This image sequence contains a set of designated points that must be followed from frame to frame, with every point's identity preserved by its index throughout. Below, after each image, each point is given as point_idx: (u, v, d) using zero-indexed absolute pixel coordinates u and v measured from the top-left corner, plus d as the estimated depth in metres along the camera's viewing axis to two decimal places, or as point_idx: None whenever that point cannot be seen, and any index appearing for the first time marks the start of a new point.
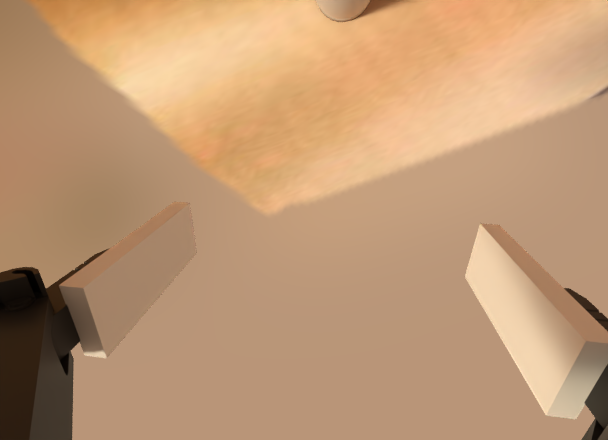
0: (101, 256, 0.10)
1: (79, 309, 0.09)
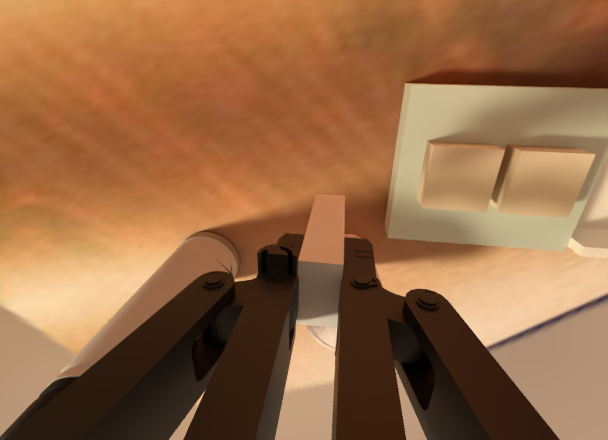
0: (306, 238, 0.12)
1: (309, 282, 0.11)
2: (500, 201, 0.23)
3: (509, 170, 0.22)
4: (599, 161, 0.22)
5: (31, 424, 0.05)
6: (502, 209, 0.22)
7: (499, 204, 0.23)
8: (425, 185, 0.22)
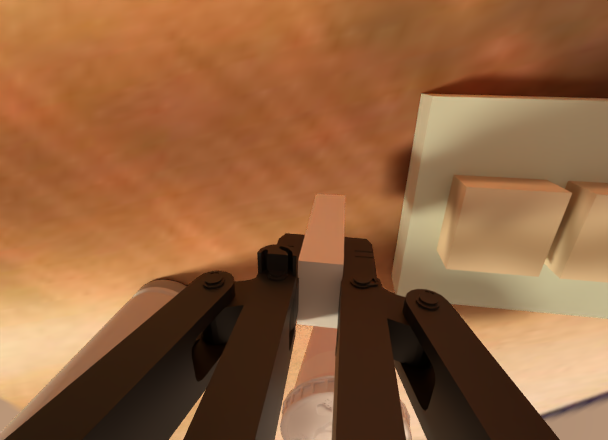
0: (306, 238, 0.12)
1: (309, 282, 0.11)
2: (558, 260, 0.16)
3: (573, 219, 0.15)
4: None
5: (31, 424, 0.05)
6: (562, 272, 0.16)
7: (556, 264, 0.16)
8: (451, 238, 0.16)
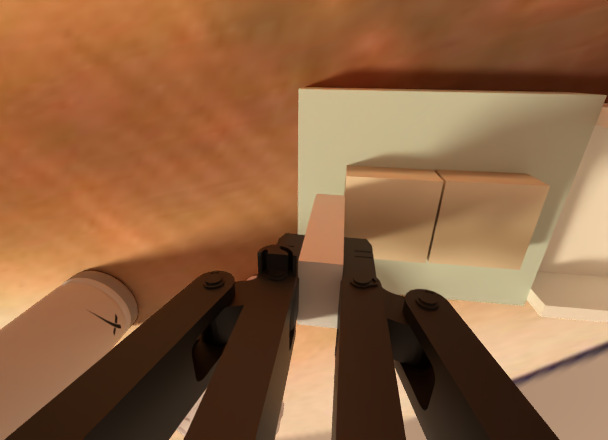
0: (306, 238, 0.12)
1: (309, 282, 0.11)
2: None
3: None
4: (561, 192, 0.16)
5: (31, 424, 0.06)
6: (429, 257, 0.16)
7: None
8: None
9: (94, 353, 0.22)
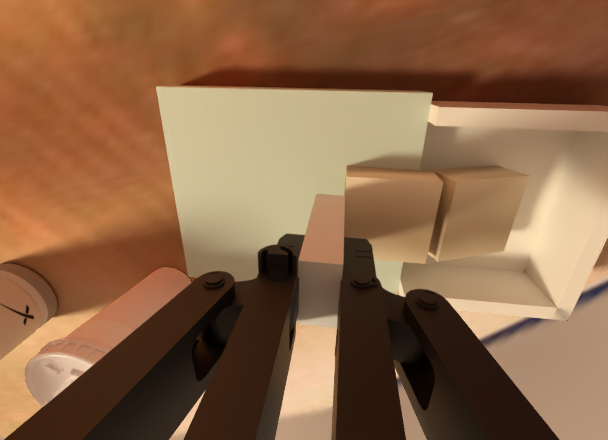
0: (306, 238, 0.12)
1: (309, 282, 0.11)
2: (433, 245, 0.17)
3: (441, 205, 0.16)
4: None
5: (31, 423, 0.05)
6: (438, 256, 0.17)
7: (432, 249, 0.17)
8: None
9: None
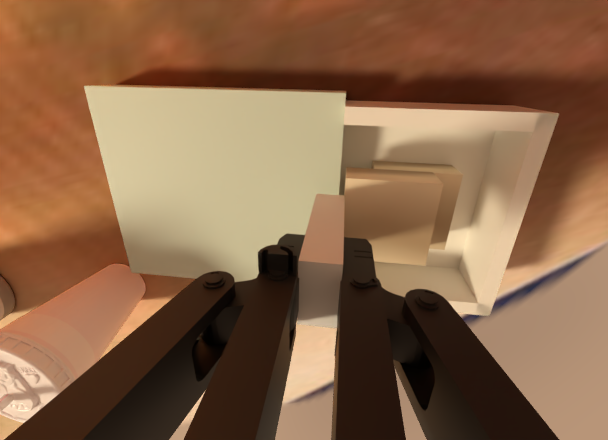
0: (306, 238, 0.12)
1: (309, 282, 0.11)
2: None
3: None
4: (333, 183, 0.17)
5: (32, 424, 0.06)
6: None
7: None
8: None
9: None
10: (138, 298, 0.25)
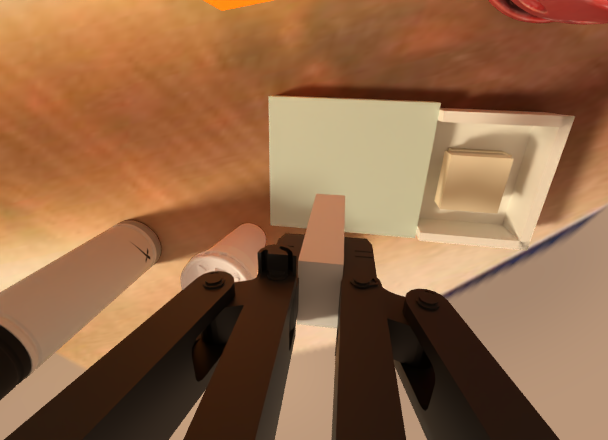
0: (306, 238, 0.12)
1: (309, 282, 0.11)
2: None
3: None
4: (425, 160, 0.27)
5: (31, 424, 0.06)
6: None
7: None
8: (443, 188, 0.26)
9: (133, 269, 0.33)
10: None
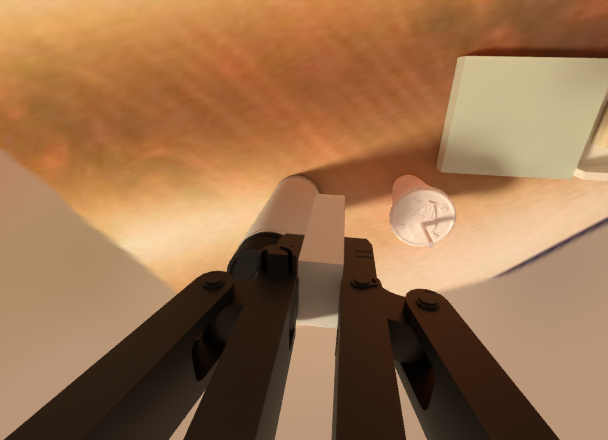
0: (306, 238, 0.12)
1: (309, 282, 0.11)
2: None
3: None
4: (595, 109, 0.32)
5: (31, 424, 0.05)
6: None
7: None
8: None
9: None
10: None
